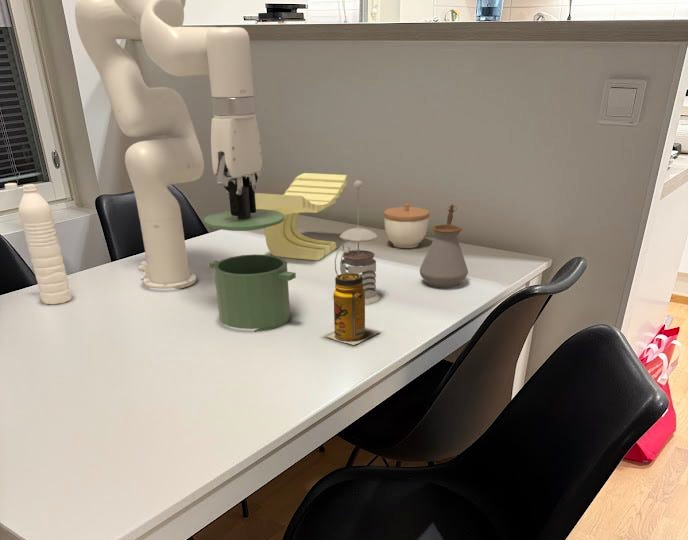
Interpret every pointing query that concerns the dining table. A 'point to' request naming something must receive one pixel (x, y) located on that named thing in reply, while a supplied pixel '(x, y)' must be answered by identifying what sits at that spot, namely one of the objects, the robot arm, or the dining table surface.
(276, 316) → the chamber
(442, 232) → the coffee pot
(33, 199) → the water bottle
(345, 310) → the condiment
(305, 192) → the slatted curved stool
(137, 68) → the robot arm
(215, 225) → the lid
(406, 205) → the lidded bowl
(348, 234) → the french press
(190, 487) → the dining table surface
